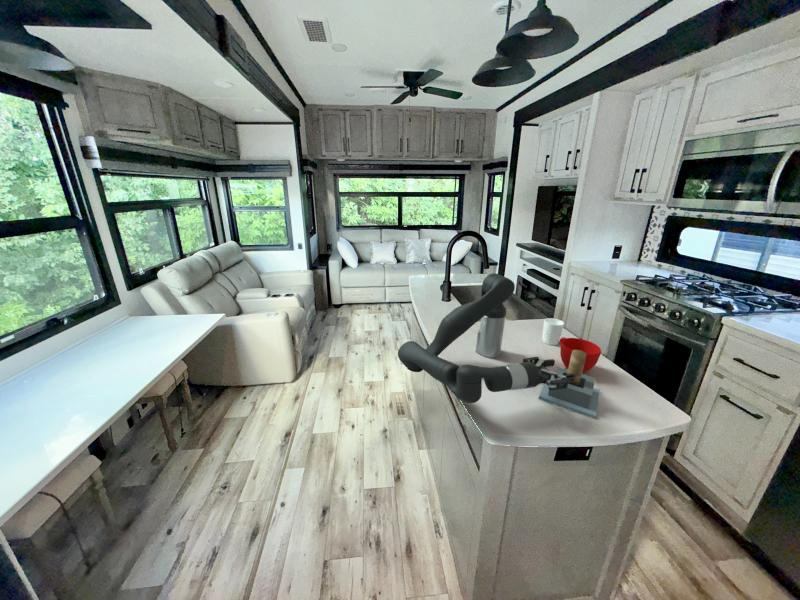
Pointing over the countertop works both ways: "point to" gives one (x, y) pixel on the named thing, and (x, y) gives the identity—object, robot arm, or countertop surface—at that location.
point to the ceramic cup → (583, 345)
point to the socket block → (574, 395)
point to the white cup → (552, 331)
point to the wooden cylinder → (576, 366)
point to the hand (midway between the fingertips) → (563, 369)
